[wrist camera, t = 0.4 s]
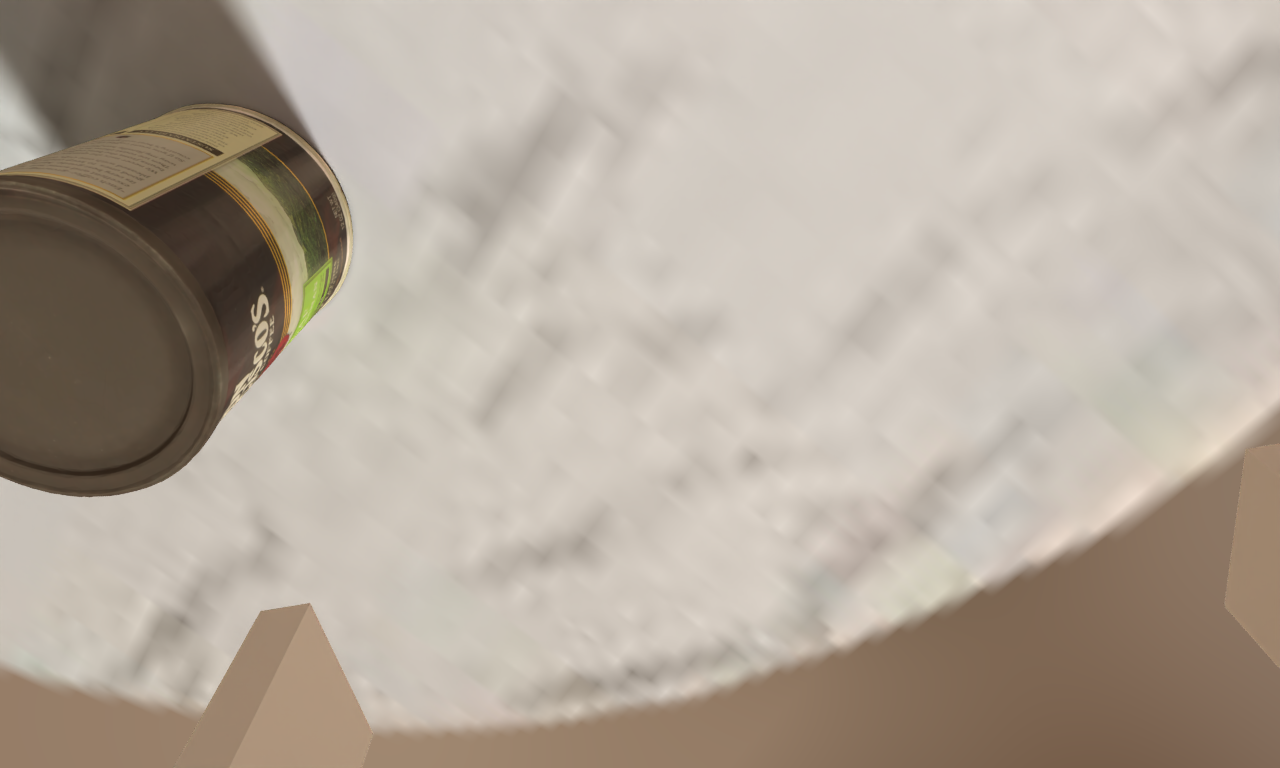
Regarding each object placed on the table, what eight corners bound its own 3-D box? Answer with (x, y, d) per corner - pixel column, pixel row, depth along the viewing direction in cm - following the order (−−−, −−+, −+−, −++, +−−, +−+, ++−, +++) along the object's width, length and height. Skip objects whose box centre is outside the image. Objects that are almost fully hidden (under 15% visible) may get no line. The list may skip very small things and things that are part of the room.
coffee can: (398, 199, 38) (279, 323, 25) (288, 368, 41) (136, 550, 29) (176, 45, 35) (-82, 100, 22) (79, 241, 39) (-190, 383, 26)
